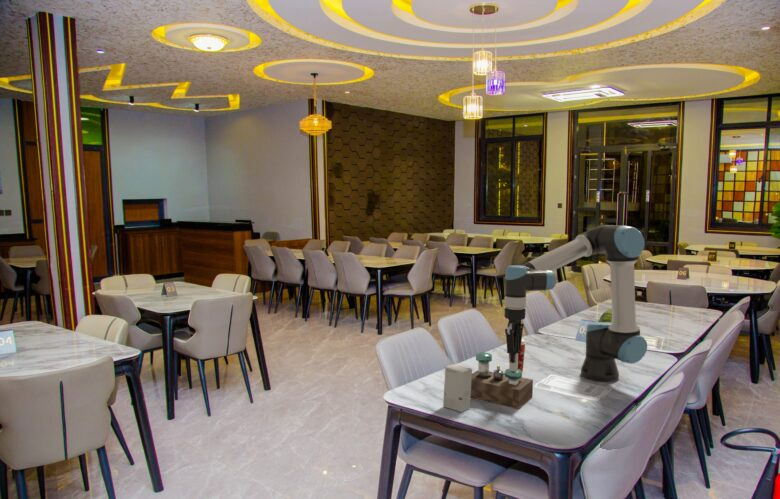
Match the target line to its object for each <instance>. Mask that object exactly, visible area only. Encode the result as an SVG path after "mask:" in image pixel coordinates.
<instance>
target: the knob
mask: <svg viewBox="0 0 780 499" xmlns="http://www.w3.org/2000/svg"><path fill="white" fill-rule="evenodd" d="M475 360H476V361H477V363H478V365H477V366H478V368H477V371H478V378H483V379H488V378H489V372H490V362H492V360H493V355H492V353H489V352H478V353H477V352H476V354H475Z"/></svg>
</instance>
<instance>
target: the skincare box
mask: <svg viewBox="0 0 780 499" xmlns="http://www.w3.org/2000/svg"><path fill="white" fill-rule="evenodd" d="M444 371H445V372H444V382H443V384H444V385H443V386H444V387H443V388H444V389H443V402H442V403H443V404H442V406H443V408H447V409H450V410H454V411H456V412H459V413H463V412H465V411H467V410H469V409H471V398H470V397H471V380H472V374H473V369H472V368H470V367H466V366H463V365H459V364H455V363H452V364H450V365H446V366H445V367H444Z"/></svg>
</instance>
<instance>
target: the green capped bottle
mask: <svg viewBox="0 0 780 499" xmlns="http://www.w3.org/2000/svg"><path fill="white" fill-rule="evenodd" d="M504 372H505V373H504V374H505V376H506V377H507V378H508V384H514V385H518V384H519V378H523V372H522V371H521V370H519V369H518V371H510V370H509V368H506V369H505V371H504Z"/></svg>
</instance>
